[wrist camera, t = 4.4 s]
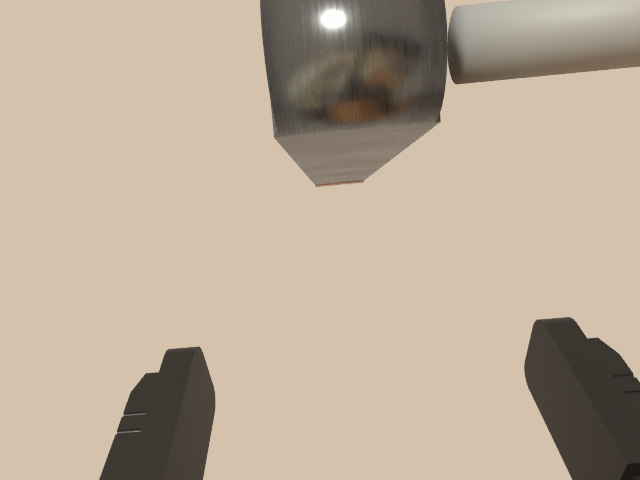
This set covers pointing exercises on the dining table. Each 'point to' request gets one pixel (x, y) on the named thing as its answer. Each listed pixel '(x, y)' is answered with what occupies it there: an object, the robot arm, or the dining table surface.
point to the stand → (541, 38)
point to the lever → (353, 80)
